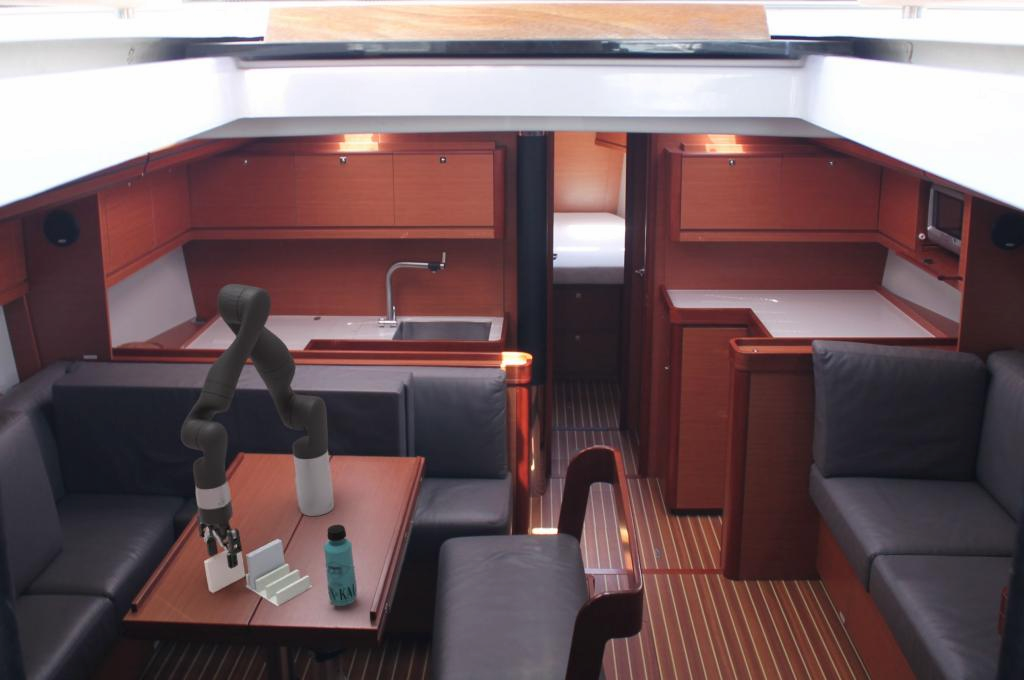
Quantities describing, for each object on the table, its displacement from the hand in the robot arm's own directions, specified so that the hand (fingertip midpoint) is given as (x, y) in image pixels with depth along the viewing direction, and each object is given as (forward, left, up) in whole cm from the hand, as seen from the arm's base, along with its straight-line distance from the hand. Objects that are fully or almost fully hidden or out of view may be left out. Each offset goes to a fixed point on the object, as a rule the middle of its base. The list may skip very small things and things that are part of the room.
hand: (223, 560), depth 230 cm
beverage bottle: (+28, +13, -8) cm, 32 cm away
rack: (+11, +7, -7) cm, 15 cm away
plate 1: (0, 0, -7) cm, 7 cm away
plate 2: (+7, +7, -7) cm, 12 cm away
